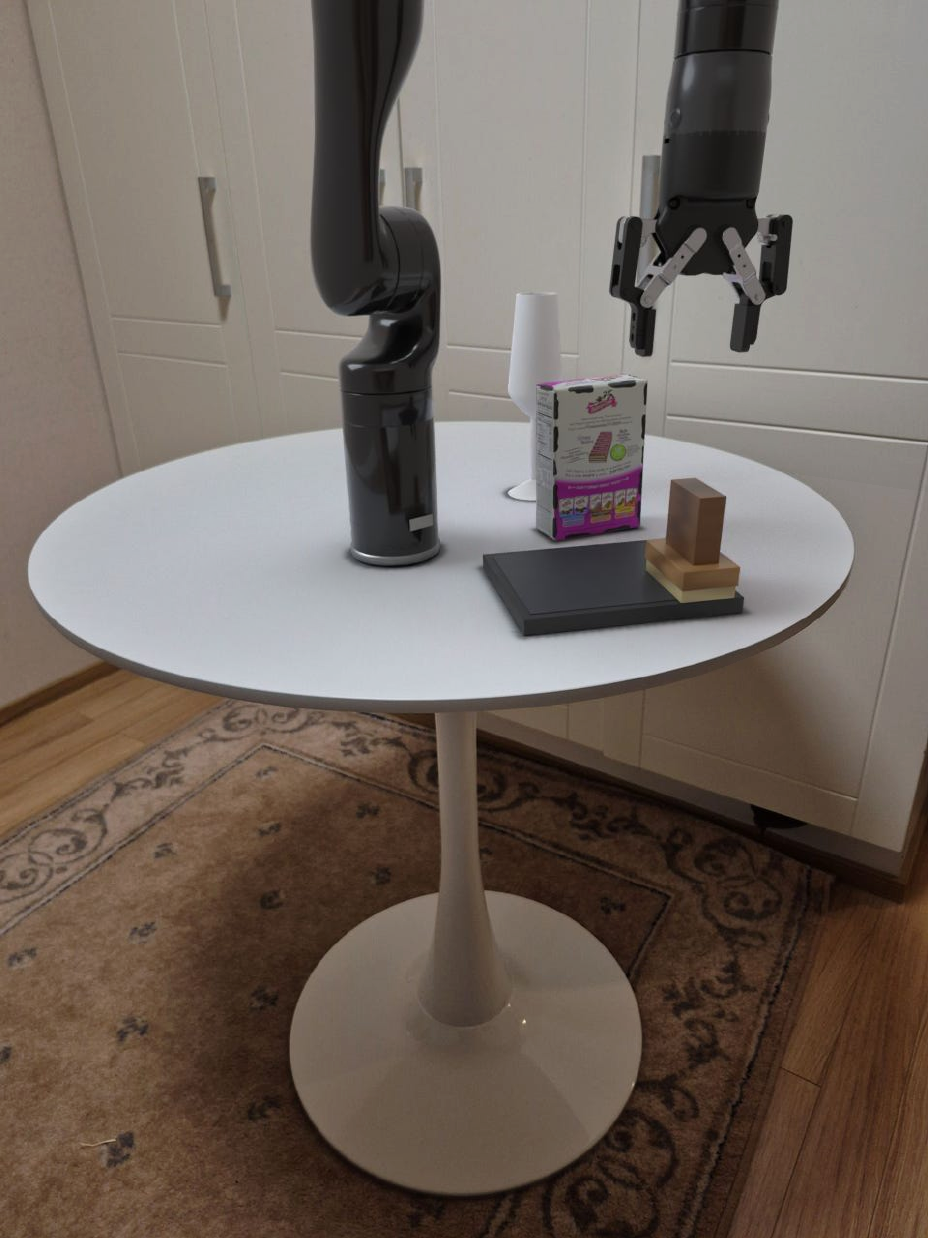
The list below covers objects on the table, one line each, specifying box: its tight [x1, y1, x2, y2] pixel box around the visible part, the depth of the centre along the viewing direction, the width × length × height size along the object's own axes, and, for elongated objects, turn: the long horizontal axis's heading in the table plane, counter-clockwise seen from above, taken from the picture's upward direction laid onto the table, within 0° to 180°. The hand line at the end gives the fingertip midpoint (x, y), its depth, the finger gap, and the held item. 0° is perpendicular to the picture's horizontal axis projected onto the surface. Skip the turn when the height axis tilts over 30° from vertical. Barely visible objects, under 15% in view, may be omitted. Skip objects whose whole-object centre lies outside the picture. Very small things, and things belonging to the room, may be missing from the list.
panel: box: [482, 539, 745, 637], centre depth 81 cm, size 16×20×2 cm
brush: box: [645, 477, 741, 603], centre depth 76 cm, size 8×5×9 cm, turn 11°
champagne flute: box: [507, 291, 564, 502], centre depth 105 cm, size 7×7×24 cm
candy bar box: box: [535, 374, 649, 542], centre depth 94 cm, size 11×5×16 cm, turn 112°
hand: (691, 353), depth 71 cm, fingers open, 8 cm apart
